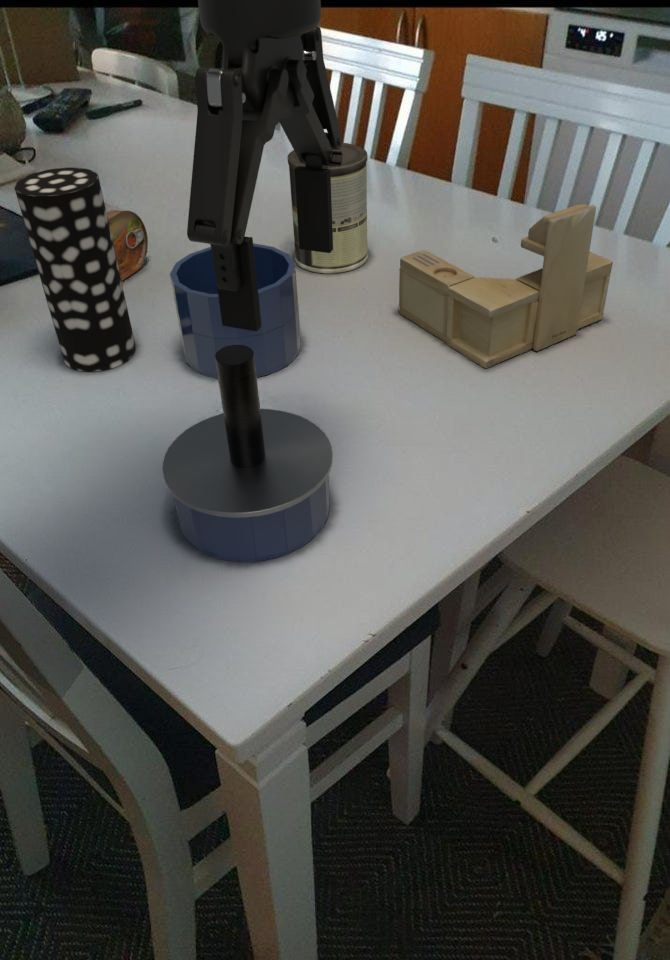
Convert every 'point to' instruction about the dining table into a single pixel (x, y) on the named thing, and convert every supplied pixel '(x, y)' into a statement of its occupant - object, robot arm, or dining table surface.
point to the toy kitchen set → (512, 293)
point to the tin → (128, 241)
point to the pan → (256, 529)
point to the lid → (246, 450)
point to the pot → (207, 335)
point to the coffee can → (339, 214)
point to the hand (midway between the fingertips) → (282, 285)
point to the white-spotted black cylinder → (77, 266)
